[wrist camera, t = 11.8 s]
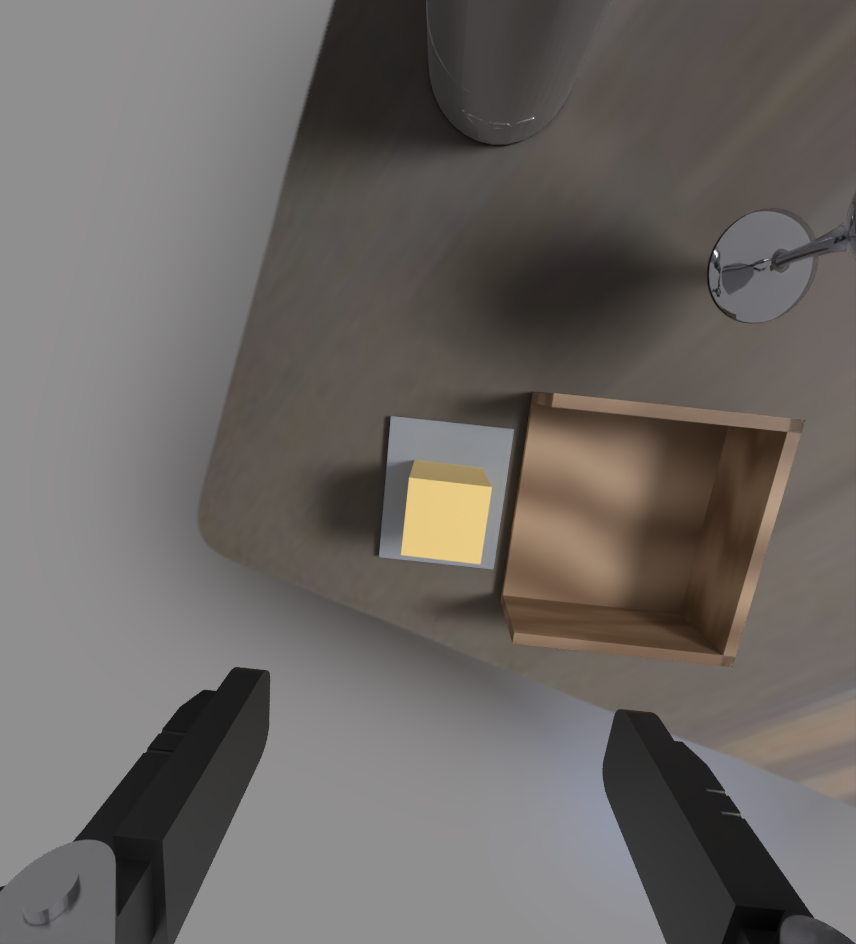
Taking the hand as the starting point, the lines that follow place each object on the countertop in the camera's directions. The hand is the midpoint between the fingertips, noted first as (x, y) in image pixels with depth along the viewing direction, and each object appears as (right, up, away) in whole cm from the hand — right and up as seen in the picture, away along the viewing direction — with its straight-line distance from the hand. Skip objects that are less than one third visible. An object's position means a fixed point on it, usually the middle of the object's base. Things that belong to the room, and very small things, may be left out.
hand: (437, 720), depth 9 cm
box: (+14, +3, +22) cm, 26 cm away
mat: (+1, +4, +22) cm, 22 cm away
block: (+1, +4, +21) cm, 22 cm away
